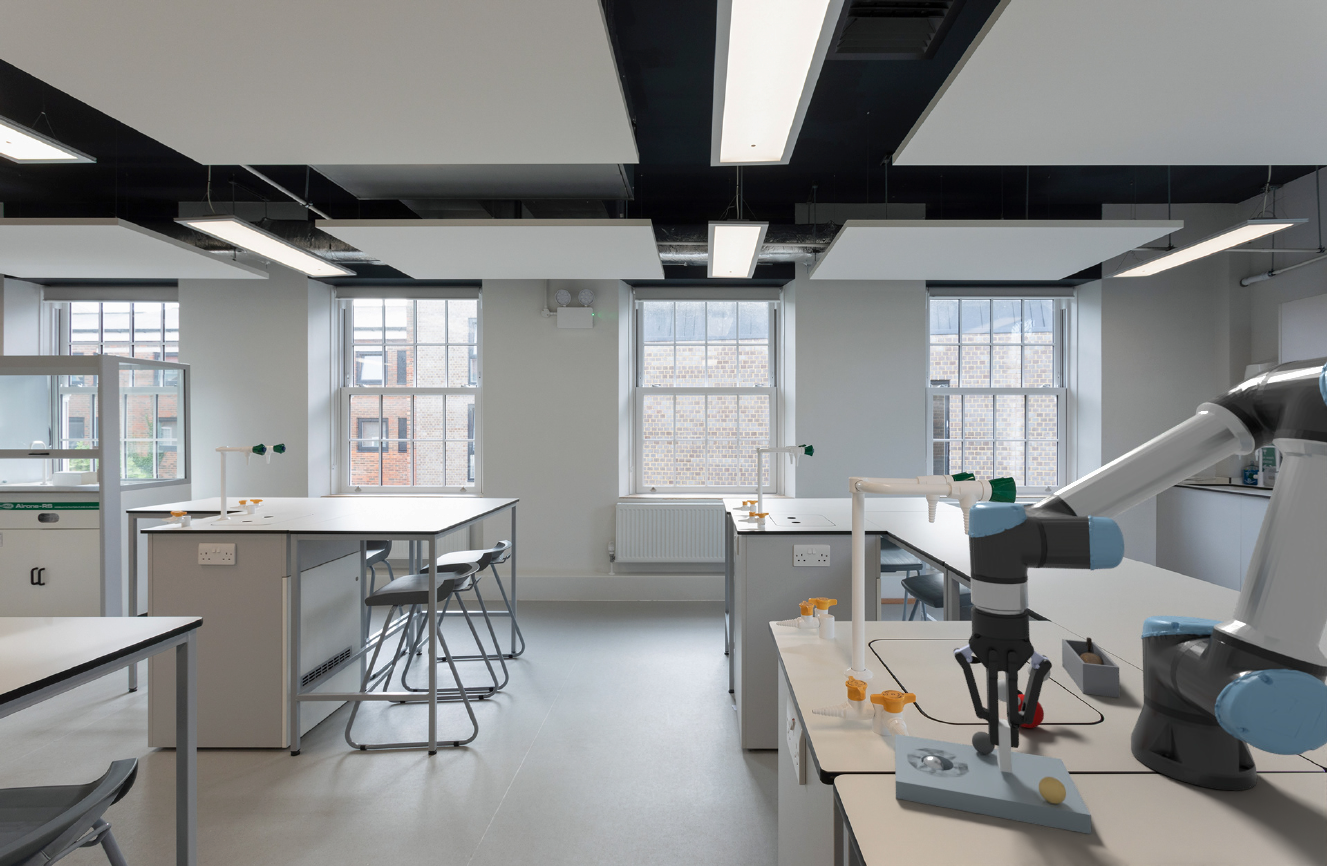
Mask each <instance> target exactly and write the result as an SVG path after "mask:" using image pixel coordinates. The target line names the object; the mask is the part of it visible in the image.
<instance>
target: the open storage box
mask: <svg viewBox="0 0 1327 866" xmlns="http://www.w3.org/2000/svg"><path fill="white" fill-rule="evenodd" d="M1086 641H1087V640H1076V639H1065V638H1063V639H1062V638H1061V659H1062V660H1061V661H1062V663H1061V664H1062V667H1063V669H1064V670H1065V671H1066V673H1067V674H1068V675H1069V677H1070V678H1071V679H1072V680H1073V682H1074V683H1075V685H1076V686H1077V687H1078V689H1079V690H1080V691H1081V692H1082V694H1084V695H1085V694H1086V695H1093V696H1101V697H1110V698H1111V697H1113V698H1117V699H1118V698H1119V699H1120V693H1121V692H1120V689H1121V688H1120V666H1118V664H1117V663H1116V662H1115V661H1114V660H1112V658H1111V657H1109V655H1108V654H1107V653H1106V652H1104V651H1103V649H1102V648H1100V647H1099V645H1097V643H1096V642H1095V641H1092V643H1091V653H1092V654H1095V655H1097V656H1099V657H1100V658H1101V659H1102V662H1103V665H1098V664H1088V663H1084V661H1083V660H1082V659H1081V658H1080V655H1081V654H1083V653H1087V652H1088V643H1087V646H1086Z"/></svg>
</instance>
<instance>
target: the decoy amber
mask: <svg viewBox="0 0 1327 866" xmlns="http://www.w3.org/2000/svg"><path fill="white" fill-rule="evenodd" d="M1039 791H1040V794H1041V795H1042V797H1043V798H1044V799H1045V800H1047V801H1048V802H1050V803H1054V804H1059V803H1061V802H1063V801H1064V800H1065V798H1066V789H1065V787H1064V785H1063V784H1062V783H1061V782H1060V781H1059V780H1058V779H1056V778H1054V777H1044V778H1042V779H1041V780H1040V782H1039Z"/></svg>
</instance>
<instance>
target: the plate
mask: <svg viewBox="0 0 1327 866" xmlns="http://www.w3.org/2000/svg"><path fill="white" fill-rule="evenodd" d="M894 744H895V745H894V746H895V747H894V748H895V749H894V750H895V751H894V752H895V753H894V754H895V755H894V758H895V763H894V764H895V799H897V800H902V801H910V802H915V803H919V804H925V805H931V806H937V807H941V808H942V807H943V808H947V809H952V810H957V811H964V812H967V813H975V814H978V815H979V814H980V815H985V816H991V817H994V818H1001V819H1007V820H1013V821H1018V822H1023V823H1027V824H1034V825H1039V826H1045V827H1051V828H1055V829H1061V830H1066V831H1072V832H1076V833H1077V832H1078V833H1083V834H1088V835H1092V815H1091V813H1090V811H1089V809H1088V807H1087V805H1086V803H1085V802H1084V800H1083V798H1082V796H1081V794H1080V791H1079V789H1078V788H1077V786H1076V784H1075V782H1074V781H1073V778H1072V776H1071V775H1070V773H1069V771H1068V769H1067V767H1066V765H1065V763H1064V761H1063V759H1062V758H1057V757H1051V756H1045V755H1036V754H1031V753H1023V752H1019V751H1012V750H1011V762H1012V773H1011V772H1004V771H1000V768H999V765H998V762H997V748H994V750H993V751H992V752H991V753H990V754H982V753H979V752H978V751H977V750H976V749H975V748H974V746H973V744H972V745H970V744H964V743H958V742H957V743H956V742H952V741H951V742H950V741H944V740H939V739H938V740H937V739H932V738H925V737H924V738H923V737H917V736H910V735H905V734H899V733H894ZM927 756H934V757H937V758H938V759H939V760H940V761H941V762H942V763H943V766H944V771H941V770H935V769H932V768H930V767H927V766H926V765H924V764H923V763H922V761H923V759H924V758H926V757H927ZM1044 777H1054V778H1056V779H1058V780H1059V781H1060V782H1061V783H1062V784H1063V785H1064V787H1065V789H1066V798H1065V800H1064V801H1063V802H1061V803H1059V804H1054V803H1050V802H1048V801H1047V800H1045V799H1044V798H1043V797H1042V795H1041V794H1040V791H1039V782H1040V780H1041V779H1042V778H1044Z"/></svg>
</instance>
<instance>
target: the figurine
mask: <svg viewBox="0 0 1327 866" xmlns="http://www.w3.org/2000/svg"><path fill="white" fill-rule="evenodd" d="M1085 641H1086V646H1087V643H1088V652H1087V653H1083V654H1081V655H1080V658H1081V659H1082V660H1083V661H1084V663H1088V664H1098V665H1103V662H1102V659H1101V658H1100V657H1099V656H1097V655H1095V654H1092V653H1091V643H1092V642H1093V641H1092V638H1091V637H1089V636H1088V637H1086V640H1085Z"/></svg>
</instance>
